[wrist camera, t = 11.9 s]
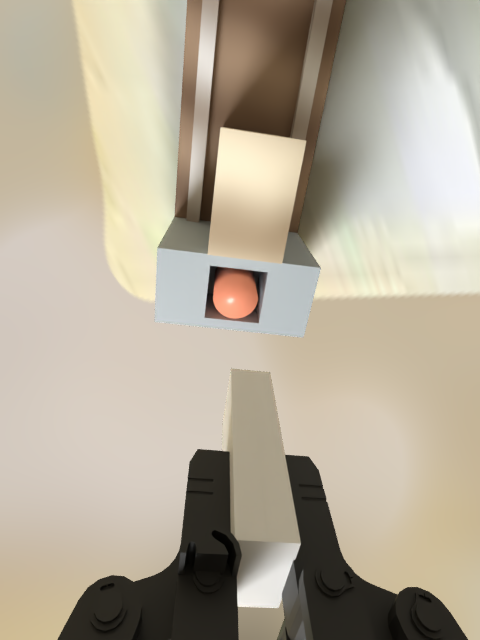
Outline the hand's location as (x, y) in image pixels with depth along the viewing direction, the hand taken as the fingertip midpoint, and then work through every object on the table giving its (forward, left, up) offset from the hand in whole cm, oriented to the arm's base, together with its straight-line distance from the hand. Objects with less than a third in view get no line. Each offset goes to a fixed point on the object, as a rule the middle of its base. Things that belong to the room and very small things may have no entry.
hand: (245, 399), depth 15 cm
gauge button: (0, 0, -14) cm, 14 cm away
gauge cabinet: (0, 0, -20) cm, 20 cm away
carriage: (-6, 0, -19) cm, 20 cm away
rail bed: (-10, 0, -20) cm, 23 cm away
